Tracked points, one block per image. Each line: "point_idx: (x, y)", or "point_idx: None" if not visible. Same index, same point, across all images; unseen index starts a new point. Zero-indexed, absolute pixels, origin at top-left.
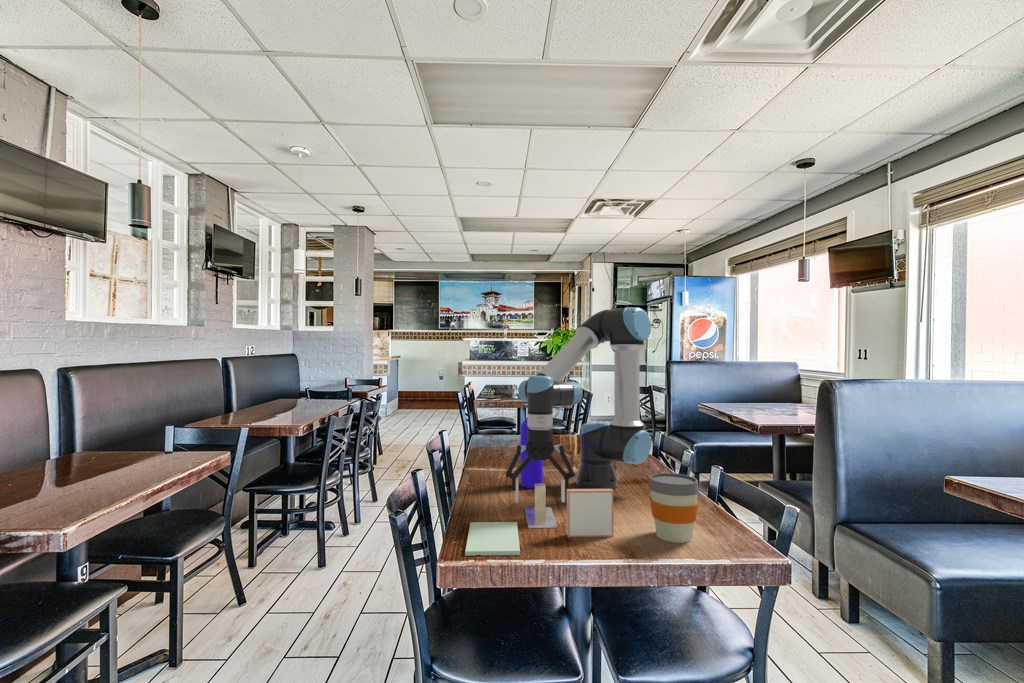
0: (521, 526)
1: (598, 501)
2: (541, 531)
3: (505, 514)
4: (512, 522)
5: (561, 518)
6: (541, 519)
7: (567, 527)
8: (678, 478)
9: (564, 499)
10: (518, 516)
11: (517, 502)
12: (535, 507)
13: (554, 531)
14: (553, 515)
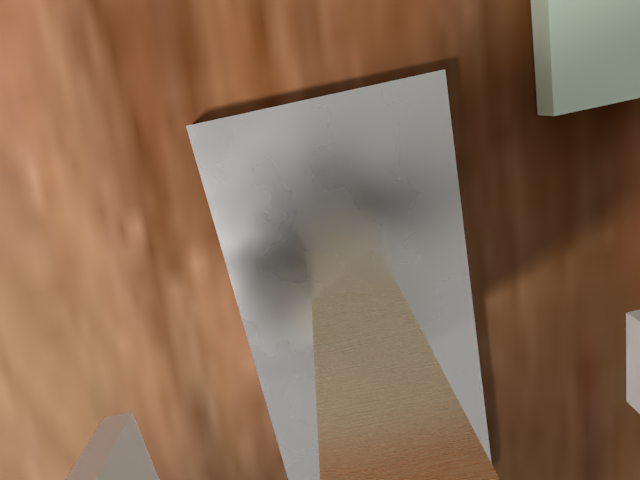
0: (498, 103)
1: None
2: (314, 5)
3: None
4: (595, 93)
5: (193, 347)
6: (342, 249)
7: None
8: None
9: (95, 440)
10: (531, 328)
11: (636, 310)
12: (416, 323)
13: (199, 27)
14: (255, 357)
